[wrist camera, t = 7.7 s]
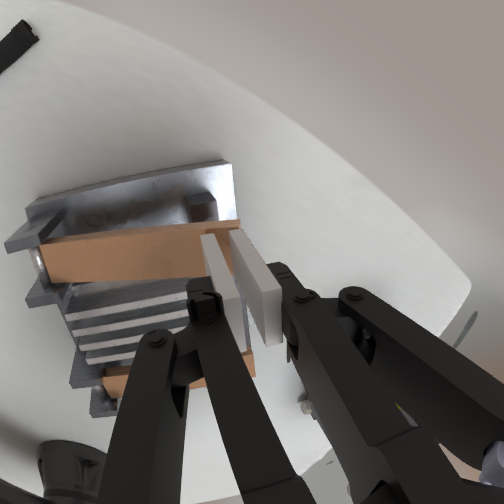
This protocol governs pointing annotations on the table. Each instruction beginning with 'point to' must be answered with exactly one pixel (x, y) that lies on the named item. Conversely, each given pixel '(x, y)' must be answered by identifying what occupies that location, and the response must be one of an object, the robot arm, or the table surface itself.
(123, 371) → the lever
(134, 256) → the lever
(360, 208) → the table surface
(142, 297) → the heatsink base
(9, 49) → the long black strip
